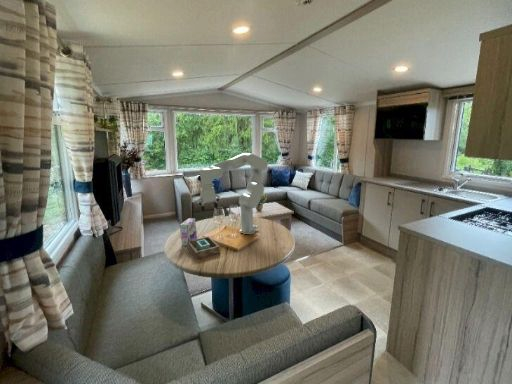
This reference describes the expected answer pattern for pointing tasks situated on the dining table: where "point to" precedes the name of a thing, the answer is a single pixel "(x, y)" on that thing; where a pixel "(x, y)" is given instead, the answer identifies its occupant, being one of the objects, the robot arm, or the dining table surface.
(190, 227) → the candy box
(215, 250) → the big crate
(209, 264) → the dining table surface
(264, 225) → the dining table surface
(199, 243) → the small crate
